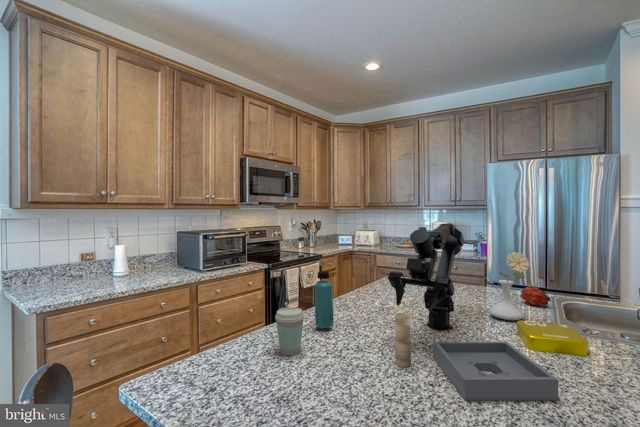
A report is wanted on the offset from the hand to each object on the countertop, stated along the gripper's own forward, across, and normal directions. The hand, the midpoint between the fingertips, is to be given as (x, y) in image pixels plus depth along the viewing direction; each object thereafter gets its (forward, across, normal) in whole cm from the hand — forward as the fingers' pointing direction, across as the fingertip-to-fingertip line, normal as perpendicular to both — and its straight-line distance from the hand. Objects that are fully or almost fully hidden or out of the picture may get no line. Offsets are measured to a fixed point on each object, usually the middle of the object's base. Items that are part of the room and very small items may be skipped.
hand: (412, 307), depth 93 cm
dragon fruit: (-43, +26, +62) cm, 80 cm away
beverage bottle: (+8, -32, +10) cm, 35 cm away
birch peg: (+15, 0, +4) cm, 15 cm away
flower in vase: (-26, +19, +44) cm, 55 cm away
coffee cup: (+23, -30, -4) cm, 38 cm away
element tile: (-12, +32, +31) cm, 46 cm away
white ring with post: (-20, -26, +40) cm, 52 cm away
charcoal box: (+11, +20, +8) cm, 24 cm away
